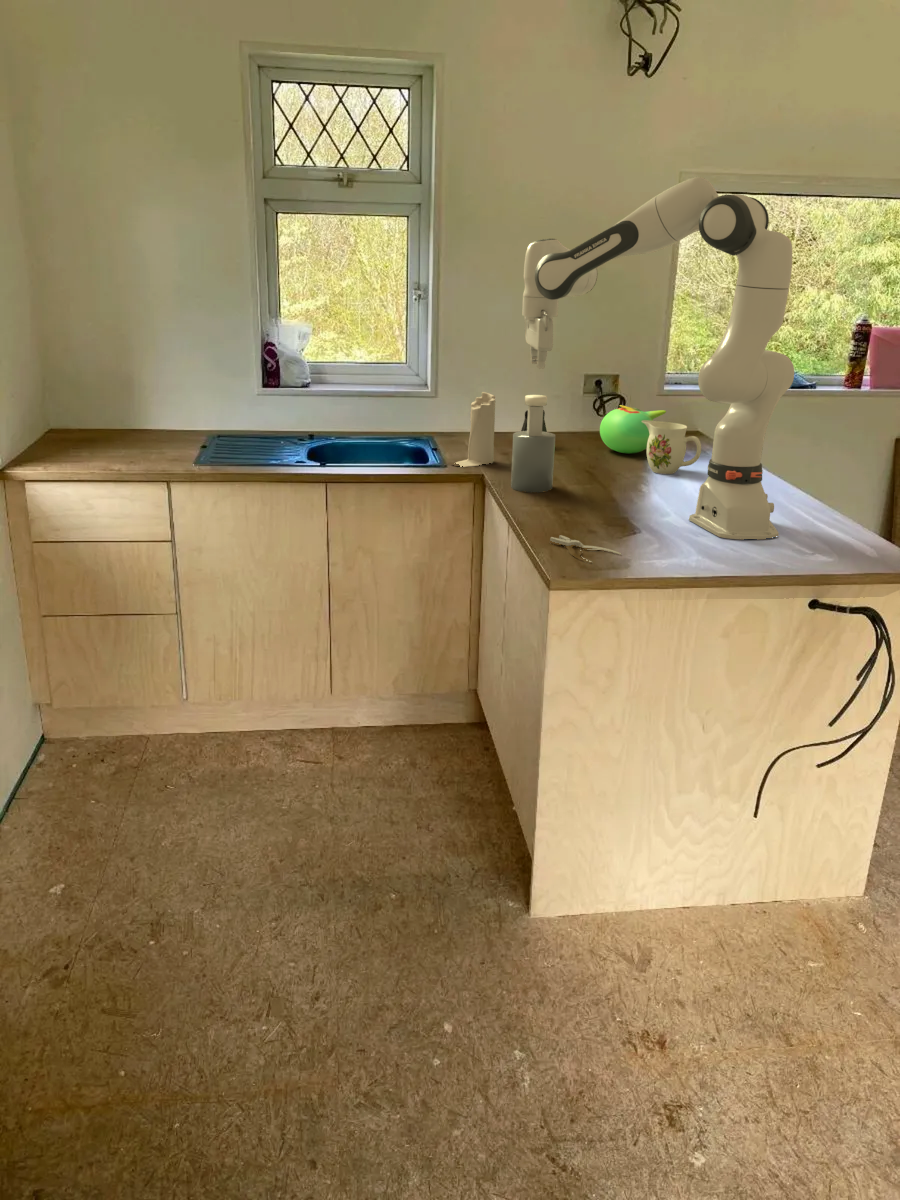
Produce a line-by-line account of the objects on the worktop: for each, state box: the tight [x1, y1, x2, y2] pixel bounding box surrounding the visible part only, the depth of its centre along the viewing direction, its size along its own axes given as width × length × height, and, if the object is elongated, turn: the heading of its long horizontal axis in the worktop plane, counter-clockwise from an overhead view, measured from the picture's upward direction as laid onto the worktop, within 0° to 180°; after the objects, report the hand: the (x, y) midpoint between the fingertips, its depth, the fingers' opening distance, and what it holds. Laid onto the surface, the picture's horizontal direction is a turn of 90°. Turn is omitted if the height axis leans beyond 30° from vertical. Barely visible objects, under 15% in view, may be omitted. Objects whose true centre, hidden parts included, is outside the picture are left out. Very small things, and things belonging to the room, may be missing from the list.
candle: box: [455, 391, 496, 468], centre depth 268 cm, size 7×14×20 cm, turn 130°
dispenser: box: [510, 405, 556, 493], centre depth 243 cm, size 11×11×22 cm
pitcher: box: [642, 420, 702, 475], centre depth 263 cm, size 11×18×14 cm, turn 58°
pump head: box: [524, 394, 548, 407], centre depth 240 cm, size 6×6×9 cm
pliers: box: [549, 534, 622, 563], centre depth 197 cm, size 10×2×15 cm
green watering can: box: [599, 404, 667, 455], centre depth 287 cm, size 18×17×15 cm
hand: (537, 365), depth 235 cm, fingers open, 8 cm apart
